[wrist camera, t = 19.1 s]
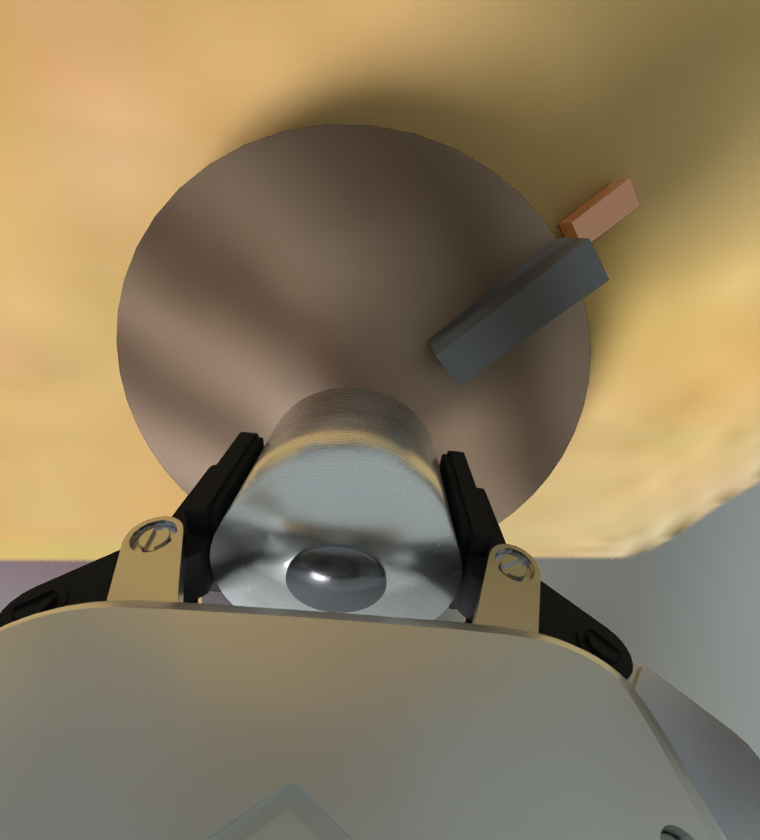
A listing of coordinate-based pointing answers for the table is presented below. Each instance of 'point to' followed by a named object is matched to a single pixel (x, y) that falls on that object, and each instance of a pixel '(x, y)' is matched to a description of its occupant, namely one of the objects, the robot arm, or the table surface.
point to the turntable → (358, 304)
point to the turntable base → (601, 211)
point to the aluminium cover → (342, 514)
